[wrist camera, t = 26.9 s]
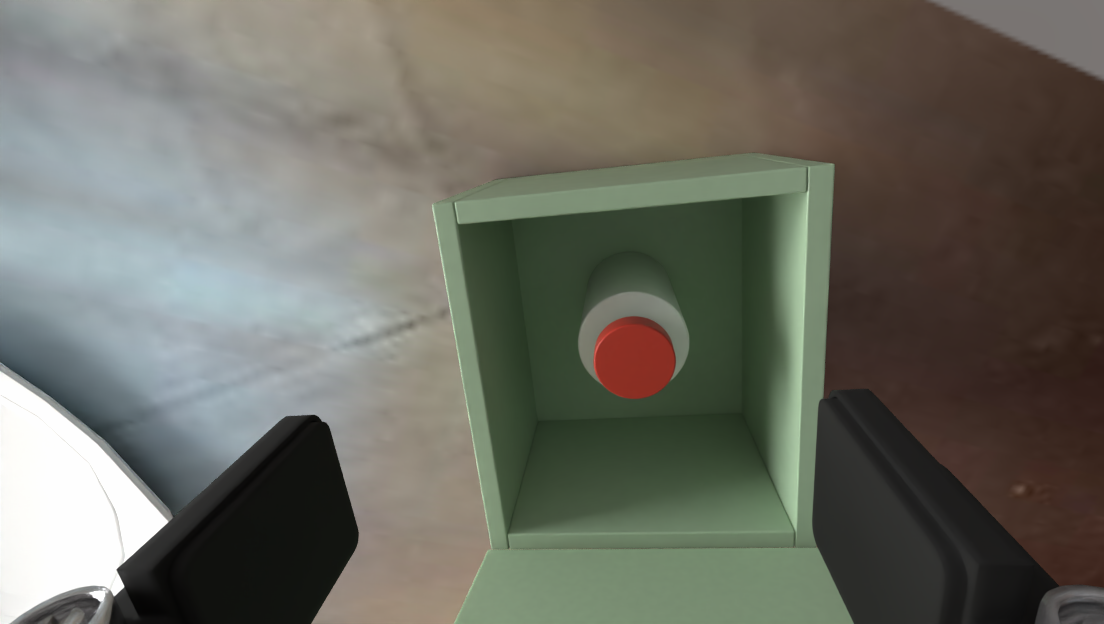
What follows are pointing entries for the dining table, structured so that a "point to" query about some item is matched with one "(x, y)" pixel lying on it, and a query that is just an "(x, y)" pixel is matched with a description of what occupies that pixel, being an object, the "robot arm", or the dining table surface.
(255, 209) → the dining table surface
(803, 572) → the lid
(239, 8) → the dining table surface
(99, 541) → the plate
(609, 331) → the spice bottle
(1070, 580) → the dining table surface
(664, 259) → the chest
